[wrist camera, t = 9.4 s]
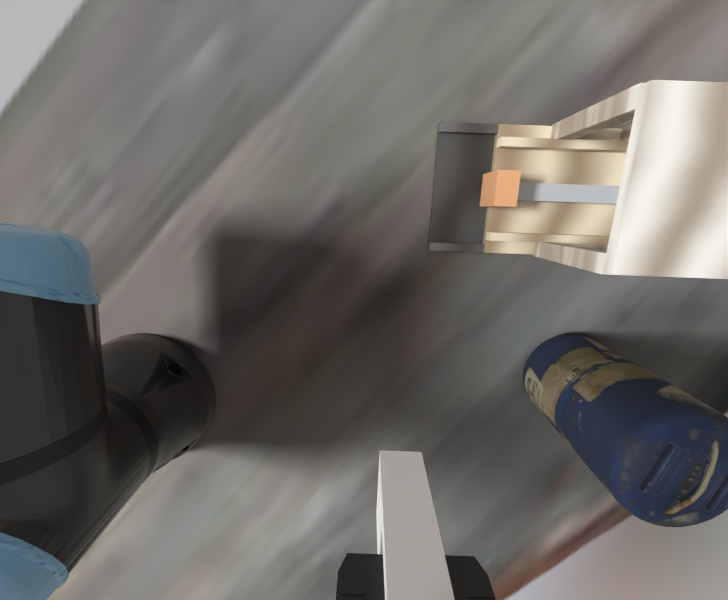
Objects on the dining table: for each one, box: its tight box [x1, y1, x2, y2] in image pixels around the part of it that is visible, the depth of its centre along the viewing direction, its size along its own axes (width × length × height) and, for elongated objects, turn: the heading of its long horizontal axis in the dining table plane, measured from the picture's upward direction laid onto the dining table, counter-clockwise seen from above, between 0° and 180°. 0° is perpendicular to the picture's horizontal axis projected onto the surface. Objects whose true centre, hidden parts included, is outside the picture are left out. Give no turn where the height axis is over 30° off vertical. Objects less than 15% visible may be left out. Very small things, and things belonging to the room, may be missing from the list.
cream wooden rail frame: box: [428, 80, 728, 279], centre depth 29 cm, size 26×12×13 cm, turn 88°
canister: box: [523, 334, 728, 527], centre depth 32 cm, size 10×10×18 cm
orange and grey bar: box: [480, 170, 620, 207], centre depth 33 cm, size 21×7×4 cm, turn 88°
